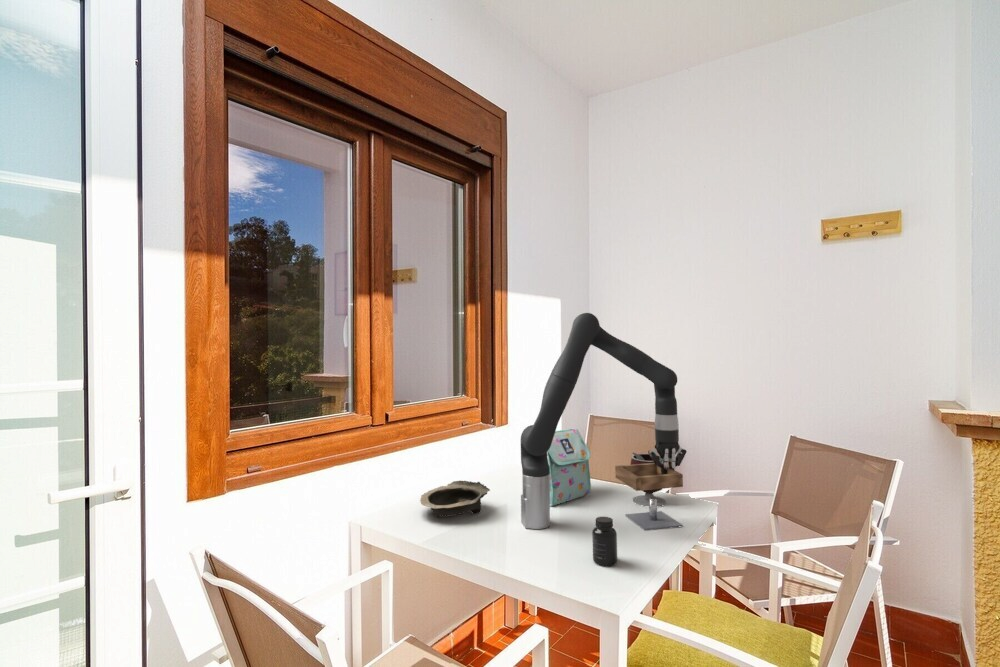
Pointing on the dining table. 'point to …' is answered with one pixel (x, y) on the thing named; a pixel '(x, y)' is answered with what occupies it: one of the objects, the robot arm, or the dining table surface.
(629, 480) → the walnut collar
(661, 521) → the slate plate
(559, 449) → the lunch bag
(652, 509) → the steel post
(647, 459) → the mate gourd
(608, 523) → the supplement bottle
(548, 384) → the robot arm
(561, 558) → the dining table surface
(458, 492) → the stone bowl
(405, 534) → the dining table surface
